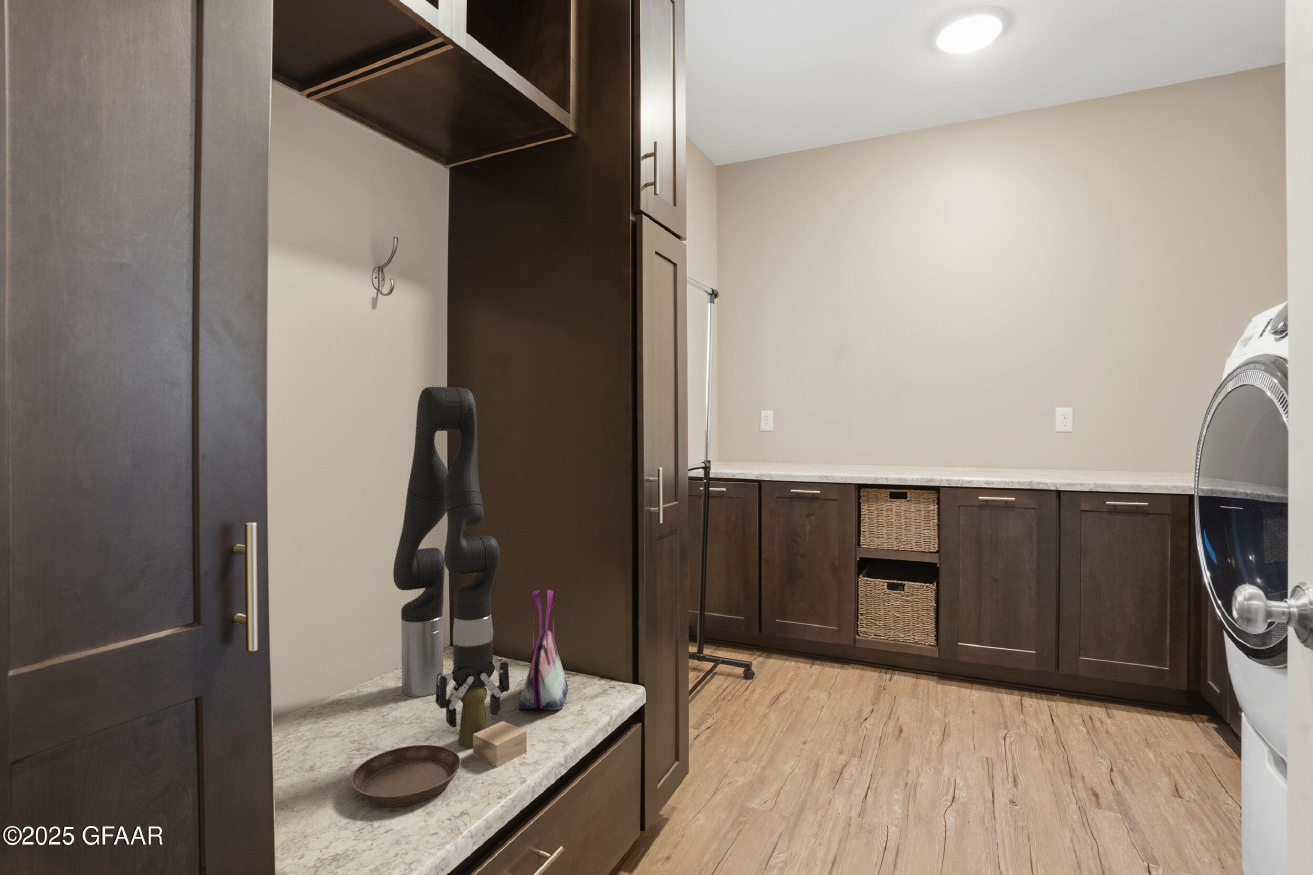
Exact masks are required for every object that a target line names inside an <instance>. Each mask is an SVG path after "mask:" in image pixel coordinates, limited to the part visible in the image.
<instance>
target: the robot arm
mask: <svg viewBox="0 0 1313 875" xmlns="http://www.w3.org/2000/svg"><path fill="white" fill-rule="evenodd" d="M477 415H478V414H477V404H476V400H475V397H474V395H473V393H472V391H471V390H470V389H468V388H465V387H457V386H456V387H455V386H454V387H452V386H451V387H449V386H427V387H425V388H423V389H422V390H421V391H420V395H419V397H418V402H417V410H416V419H415V421H416V423H415V436H414V447H413V448H414V449H413V458H412V463H411V467H410V468H411V469H410V473H409V479H408V480H409V481H408V485H407V491H406V492H407V493H406V500H405V508H404V515H403V522H402V528H401V533H400V538H399V541H398V545H397V548H396V553H395V557H394V563H393V573H392V576H393V582H394V585H395V586H396V588H397V589H398V590H400V591H413V590H420V589H424V591H422V593H421V594H419V595H418V596H417V597H415V598H414V599H412V600H410V601H409V602H406V603H405V604H404V605H403V606H402V607H401V610H400V612H401V613H400V619H401V621H400V623H401V624H400V626H401V629H400V630H401V633H400V634H401V693H402V694H403V695H404V696H407V697H426V696H430V695H433V694H435V705H437V706H438V707H439V708H440V709H445V717H446V718H445V721H446V724H448V726H450V727H451V728H452V729H455V728H457V708H456V706H457V704H458V702H459V701H461V700H460V699H461V698H462V697H463V695H464V694H465V692H466V691H468V690H470V689H472V688H475V687H486V689H488V691H489V692H490V693H491V694H489V700H490V701H489V708H490V709H489V712H490V714H491V716H494V717H495V716H498V715H499V712H500V711H501V695H502V694H503V693H505V692H508V691H509V690H510V689H511V688H510V672H509V671H510V670H509V663H508V662H507V661H505V660H504V659H503V658H499V660H498V661H497V662H494V661H493V659H494V657H493V656H494V652H493V651H494V646H493V645H494V644H493V642H494V640H493V639H494V638H493V636H494V628H493V627H494V626H493V619H492V592H493V591H492V590H493V587H494V581H495V577H496V574H497V571H498V568H499V564H500V559H501V549H500V545H499V543H498V540H496V538H495V537H493V536H491V535H479V536H470V537H469V536H468V537H464V532H465V530H467V529H469V528H473V527H476V526H477V525H480V524H481V523H483V521H484V519H485V511H484V505H483V500H482V499H483V498H482V493H481V489H480V488H481V487H480V480H479V479H480V478H479V469H478V468H479V465H478V462H479V461H478V460H479V459H478V454H479V453H478V420H477V419H478V418H477ZM445 431H446V432H453V431H454V432H458V433H459V434H458V435H459V446H458V449H457V453H456V456H455V458H454V460H453V462H452V464H451V466H450V468H449V469H448V468H447V466H446V465H445V463H444V462H443V460H442V459H441V457H440V455H439V453H438V450H437V447H436V444H435V438H436V433H437V432H445ZM445 515H446V516H447V531H446V538H445V539H446V540H445V547H444V553H443V552H442V550H441V549H440V548H438V547H426V548H419V547H420V545H421V544H422V542H423V541H424V539H425V537H426V536H428V534H429V533H430V532H431V531H432V530H433V529H434V528H435V527H436V526H437V525H438V523H440V522H441V521H442V519H443V518H444V517H445ZM445 568H446V569H447V571H448V572H449V573H450V574H452V575H453V576H461V575H469V574H475V576H474V578H473V579H472V580H471V581H469V582H467V583H465V584H462V585H460V586H458V587H457V588H456V589H455V590H454V592H453V593H454V595H453V602H454V604H453V606H454V607H453V608H454V609H453V610H454V612H453V614H454V615H453V616H454V617H453V625H452V626H453V627H452V657H453V658H452V664H453V668H452V671H451V673H450V672H449V673H445V674H444V635H443V634H444V627H443V625H444V624H443V620H444V619H443V607H444V588H445ZM494 672H496V673H497V674H498V685H496V684H495V683H494V682H493V680H491V677H492V676H493V674H494ZM452 680H453V682H454V684H453V686H452V687H451V689H450V690H449V691H450V693H449V695H448V696H447V694H448V693H447V691H448V690H447V688H448V686H449V685H450V683H451V681H452Z"/></svg>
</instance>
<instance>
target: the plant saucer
mask: <svg viewBox="0 0 1313 875" xmlns="http://www.w3.org/2000/svg"><path fill="white" fill-rule="evenodd" d="M461 761H462V760H461V756H460V754H458V752H456V751H454V750H453V749H451V748H448V747H445V746H441V745H435V744H417V745H407V746H402V747H396V748H394V749H391V750H390V749H389V750H387V751H384V752H382V753H379V754H377V755H374V756H373V757H370V758H369V759H367V760H365V761H364V762H363V763H361V764H360V765H359V766H358V767H357V768H356V769H354V772H353V773H352V774H351V778H350V782H351V783H350V784H351V786H352V788H353V789H354V791H355V792H356V793H357V794H358V795H359V796H360V797H362V798H363V799H364V800H365V801H366V802H368V803H370V804H373V805H376V806H380V807H403V806H404V807H405V806H409V805H414V804H417V803H421V802H424V801H426V800H428V799H430V798H432V797H434V796H437V795H438V794H439V793H440V792H441V791H444V789H445V788H446V787H447V786H449V784H450V783H451V782H452V781H453V779H454V777H455V776H456V774H457V773H458V771H459V769H460V767H461V765H462V764H461V763H462V762H461Z"/></svg>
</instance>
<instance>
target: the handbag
mask: <svg viewBox="0 0 1313 875" xmlns="http://www.w3.org/2000/svg"><path fill="white" fill-rule="evenodd" d="M540 592H541V591H540V589H537V590H534V591H533V592H532V594H531V610H532V618H533V622H535V603H536V606H537V609H538V616H539V617H538V618H539V636H538V638H537V641H536V645H535V633H534V630H533V634H532V653H531V654H532V656H531V661H530V664H529V665H530V667H529V670H528V673H527V675H526V676H527V677H526V679H525V682H524V685H523V688H522V691H521V695H520V698H519V701H518V709H519V710H538V709H540V710H549V711H550V710H551V711H553V710H554V711H555V710H561V709H563V708H564V705H565V702H566V698H567V695H568V691H569V690H568V689H569V686H568V680H567V677H566V674H565V670H564V669H563V668H564V667H563V665H562V662H561V658H560V655H559V652H558V648H557V645H556V640H555V626H554V624H555V622H554V621H552V623H553V624H552V631H551V630H550V629H549V618H550V614H551V611H552V609H554V607H555V601H556V592H555V591H553V590H551V589H547V590H546V597H547V598H546V614H545V629H544V630H542V620H543V619H542V618H543V617H542V614H543V612H542V611H543V610H542V601H541V593H540Z"/></svg>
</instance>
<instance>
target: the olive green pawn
mask: <svg viewBox="0 0 1313 875" xmlns="http://www.w3.org/2000/svg"><path fill="white" fill-rule="evenodd" d="M487 689H488V688H487V687H486V686H485V687H475V688H472V689H470V690H468V691H466V692H465V694H464V695H463V697H462V698H461V699H460V700H459V701H460V702H461V703H462V707H461V709H462V710H461V716H460V722H459V732H458V733H459V734H458V740H457V744H458V746H459V747H461V748H463V749H473V734H475V733H477V732H479V731H482V730H484V729H486V728H488V727H489V725H488V719H487V718H488V717H487V711H486V704H485V701H486V699H487V696H488V690H487Z"/></svg>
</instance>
